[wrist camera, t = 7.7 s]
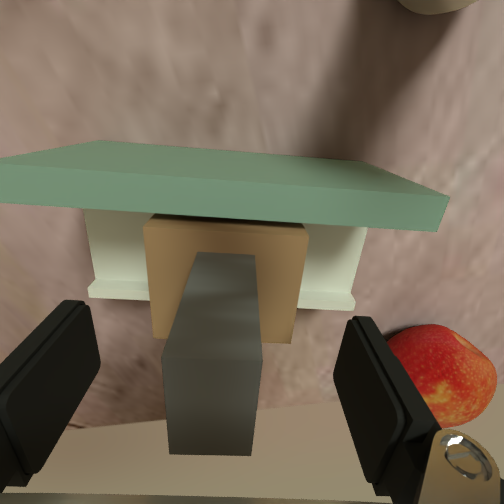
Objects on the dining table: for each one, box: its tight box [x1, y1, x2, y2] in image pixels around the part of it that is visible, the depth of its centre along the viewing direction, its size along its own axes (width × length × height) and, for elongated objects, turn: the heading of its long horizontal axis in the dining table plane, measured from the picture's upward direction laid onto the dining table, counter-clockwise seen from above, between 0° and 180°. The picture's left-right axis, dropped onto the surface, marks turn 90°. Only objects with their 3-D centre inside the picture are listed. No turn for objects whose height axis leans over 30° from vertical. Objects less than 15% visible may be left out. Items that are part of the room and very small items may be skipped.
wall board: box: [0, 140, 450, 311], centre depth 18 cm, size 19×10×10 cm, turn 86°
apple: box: [387, 324, 497, 428], centre depth 25 cm, size 8×8×8 cm
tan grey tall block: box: [143, 213, 309, 456], centre depth 14 cm, size 7×6×13 cm
